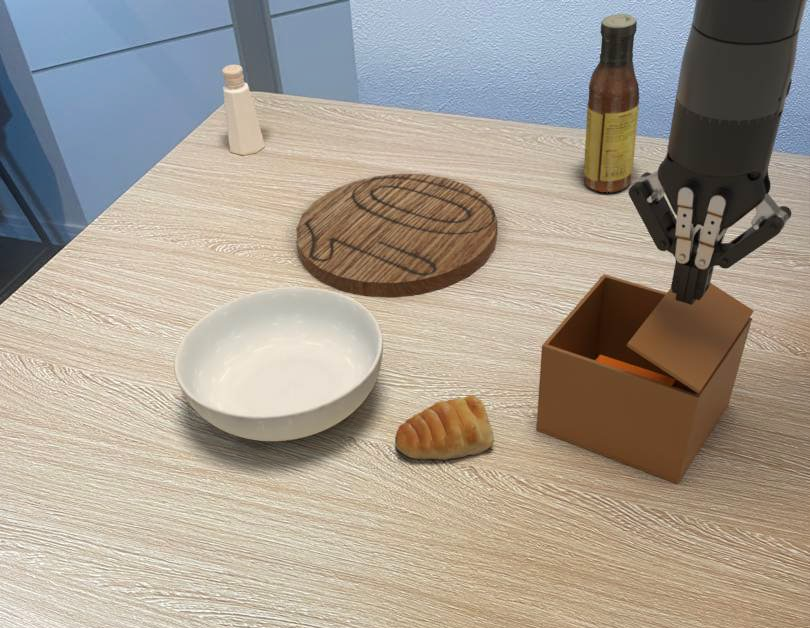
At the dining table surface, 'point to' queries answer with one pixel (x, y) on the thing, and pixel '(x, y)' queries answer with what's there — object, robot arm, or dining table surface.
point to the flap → (691, 335)
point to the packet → (637, 370)
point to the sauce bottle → (612, 109)
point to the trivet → (397, 235)
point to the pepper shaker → (240, 113)
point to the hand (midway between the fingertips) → (688, 297)
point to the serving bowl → (280, 362)
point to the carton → (626, 386)
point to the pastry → (446, 430)
